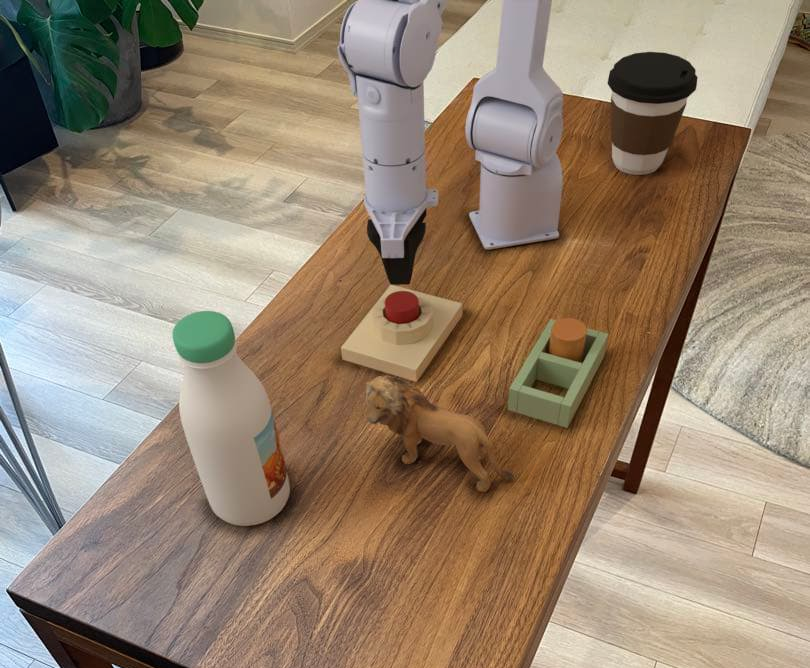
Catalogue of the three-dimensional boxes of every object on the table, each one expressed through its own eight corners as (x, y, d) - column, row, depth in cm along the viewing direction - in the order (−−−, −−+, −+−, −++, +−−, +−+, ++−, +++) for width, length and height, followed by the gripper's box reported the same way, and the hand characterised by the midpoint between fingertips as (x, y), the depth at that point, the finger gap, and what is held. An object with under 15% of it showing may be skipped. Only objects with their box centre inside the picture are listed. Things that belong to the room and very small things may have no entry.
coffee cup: (687, 151, 113) (709, 57, 104) (666, 191, 107) (687, 96, 98) (609, 136, 116) (623, 44, 107) (584, 175, 111) (597, 81, 101)
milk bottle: (257, 541, 76) (207, 374, 60) (193, 508, 78) (128, 340, 63) (307, 485, 80) (272, 314, 64) (244, 456, 82) (195, 285, 66)
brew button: (394, 300, 91) (394, 287, 90) (424, 309, 90) (424, 295, 89) (379, 320, 89) (378, 306, 88) (410, 328, 88) (409, 315, 87)
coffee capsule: (544, 375, 88) (548, 337, 84) (549, 353, 90) (554, 315, 86) (578, 380, 87) (584, 342, 83) (583, 358, 89) (589, 320, 85)
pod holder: (604, 356, 89) (608, 333, 87) (567, 428, 83) (570, 406, 80) (547, 340, 91) (550, 318, 88) (507, 410, 85) (509, 388, 82)
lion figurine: (360, 463, 81) (352, 395, 74) (380, 426, 84) (374, 357, 77) (505, 500, 77) (511, 432, 70) (521, 460, 80) (528, 391, 73)
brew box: (391, 296, 97) (389, 270, 94) (462, 315, 94) (462, 289, 91) (342, 359, 90) (338, 334, 88) (416, 382, 88) (415, 356, 85)
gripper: (435, 193, 71) (437, 322, 81) (439, 110, 79) (440, 237, 90) (353, 194, 71) (365, 323, 82) (366, 111, 80) (375, 237, 91)
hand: (400, 278), depth 86 cm, fingers closed
